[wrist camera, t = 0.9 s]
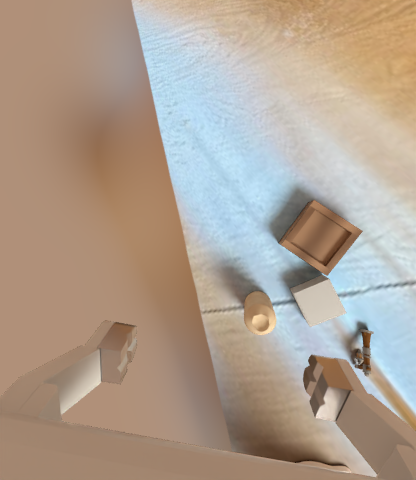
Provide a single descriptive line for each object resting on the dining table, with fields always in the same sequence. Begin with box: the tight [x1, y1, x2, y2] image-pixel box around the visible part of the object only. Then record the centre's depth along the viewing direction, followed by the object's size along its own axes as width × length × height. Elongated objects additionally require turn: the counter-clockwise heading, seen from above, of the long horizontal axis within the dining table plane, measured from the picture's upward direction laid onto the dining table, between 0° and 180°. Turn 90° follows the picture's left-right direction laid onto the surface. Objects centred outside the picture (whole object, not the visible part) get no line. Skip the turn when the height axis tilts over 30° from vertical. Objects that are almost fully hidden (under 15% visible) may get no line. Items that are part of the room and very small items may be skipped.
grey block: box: [290, 275, 346, 327], centre depth 45 cm, size 7×7×4 cm
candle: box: [244, 291, 276, 335], centre depth 43 cm, size 6×6×10 cm
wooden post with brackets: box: [355, 329, 374, 377], centre depth 44 cm, size 2×8×4 cm, turn 170°
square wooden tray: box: [279, 200, 362, 276], centre depth 44 cm, size 10×10×4 cm
